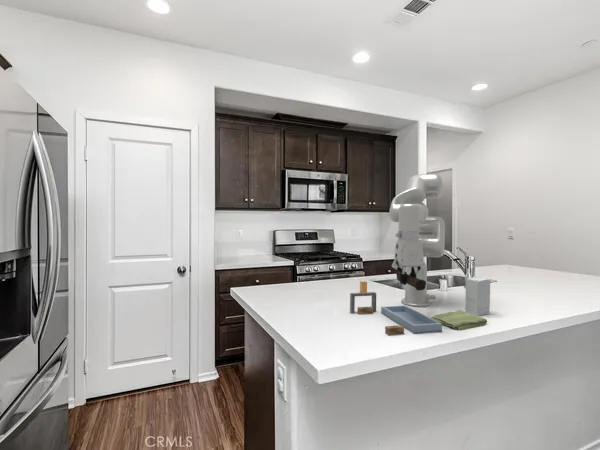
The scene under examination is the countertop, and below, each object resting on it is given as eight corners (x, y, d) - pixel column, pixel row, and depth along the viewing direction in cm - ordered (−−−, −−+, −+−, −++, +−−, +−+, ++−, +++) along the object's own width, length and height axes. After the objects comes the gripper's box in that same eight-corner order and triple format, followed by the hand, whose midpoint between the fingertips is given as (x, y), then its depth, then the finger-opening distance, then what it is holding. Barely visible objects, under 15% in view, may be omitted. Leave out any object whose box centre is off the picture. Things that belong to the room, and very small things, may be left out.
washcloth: (428, 321, 125) (428, 313, 125) (460, 316, 131) (460, 308, 131) (456, 332, 112) (456, 323, 112) (490, 326, 119) (490, 317, 119)
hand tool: (426, 290, 113) (426, 277, 113) (415, 290, 113) (416, 277, 112) (403, 279, 132) (403, 268, 132) (394, 279, 131) (394, 268, 131)
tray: (404, 311, 135) (404, 305, 135) (442, 331, 112) (442, 323, 112) (381, 313, 133) (381, 306, 133) (414, 333, 109) (414, 325, 109)
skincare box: (477, 310, 139) (477, 276, 139) (490, 314, 134) (491, 278, 133) (464, 312, 135) (464, 277, 135) (477, 316, 130) (478, 280, 130)
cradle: (370, 312, 134) (370, 306, 134) (404, 334, 109) (404, 327, 109) (357, 312, 133) (357, 307, 133) (388, 335, 108) (388, 328, 108)
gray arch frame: (374, 310, 137) (374, 280, 137) (376, 311, 135) (376, 281, 135) (349, 311, 134) (350, 281, 134) (351, 312, 132) (352, 282, 132)
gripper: (393, 237, 116) (393, 287, 117) (433, 236, 120) (433, 285, 120) (384, 235, 124) (383, 282, 124) (422, 235, 127) (421, 280, 128)
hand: (408, 283), depth 122 cm, fingers closed on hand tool, 3 cm apart
